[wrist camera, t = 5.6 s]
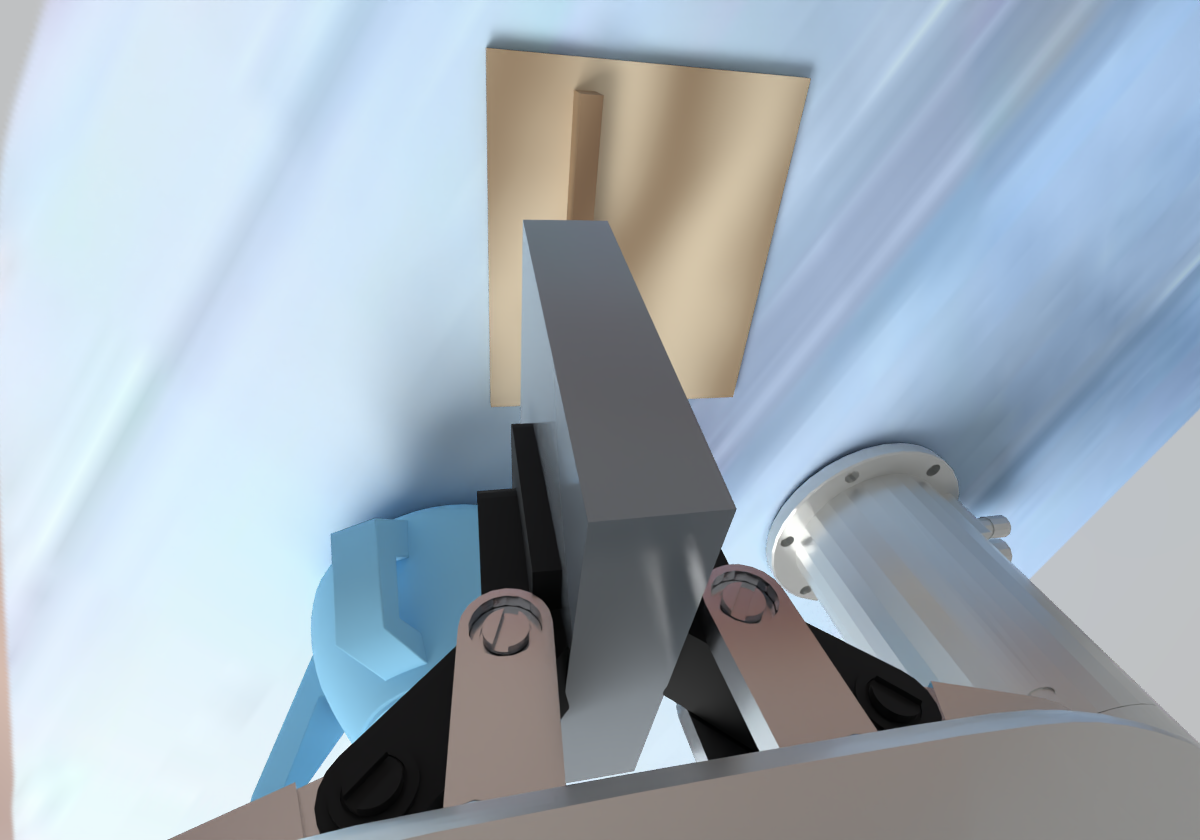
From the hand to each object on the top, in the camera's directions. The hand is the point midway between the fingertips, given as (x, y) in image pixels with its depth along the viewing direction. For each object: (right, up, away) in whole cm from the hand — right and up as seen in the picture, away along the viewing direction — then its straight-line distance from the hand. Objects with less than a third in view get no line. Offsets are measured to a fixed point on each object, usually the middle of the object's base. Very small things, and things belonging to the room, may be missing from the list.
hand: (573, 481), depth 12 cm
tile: (0, +2, +1) cm, 3 cm away
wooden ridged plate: (+2, +8, +13) cm, 15 cm away
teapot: (-8, -8, +22) cm, 24 cm away
